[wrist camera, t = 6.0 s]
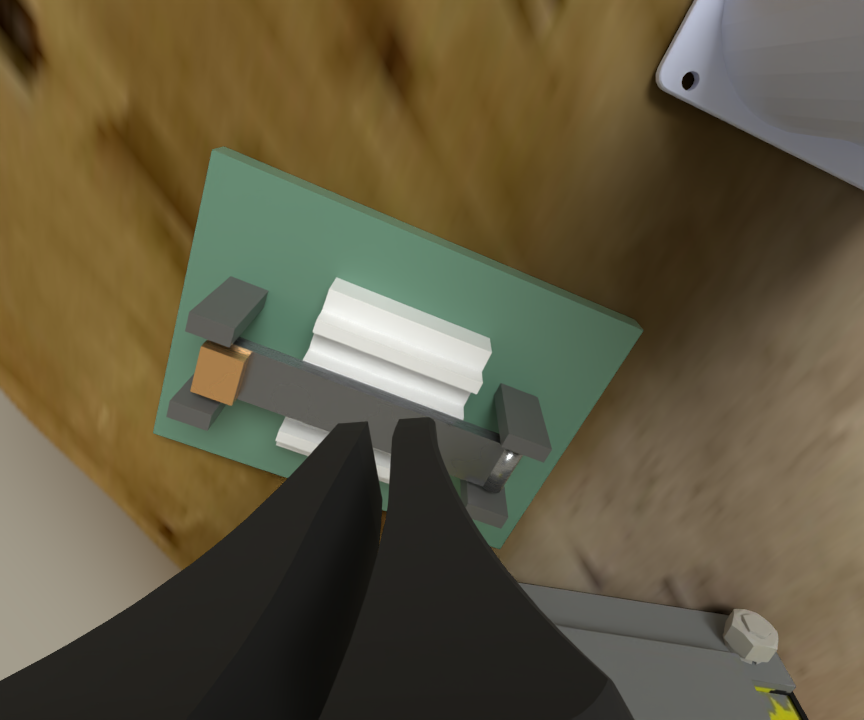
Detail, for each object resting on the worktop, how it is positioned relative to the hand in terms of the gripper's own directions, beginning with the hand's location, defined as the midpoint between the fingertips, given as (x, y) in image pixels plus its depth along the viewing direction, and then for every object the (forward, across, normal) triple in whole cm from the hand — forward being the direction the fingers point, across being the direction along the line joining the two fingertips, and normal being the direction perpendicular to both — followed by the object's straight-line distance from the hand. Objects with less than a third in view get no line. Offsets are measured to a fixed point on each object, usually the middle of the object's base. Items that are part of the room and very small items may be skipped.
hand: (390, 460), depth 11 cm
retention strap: (+8, +2, +3) cm, 8 cm away
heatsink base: (+10, +2, +3) cm, 11 cm away
